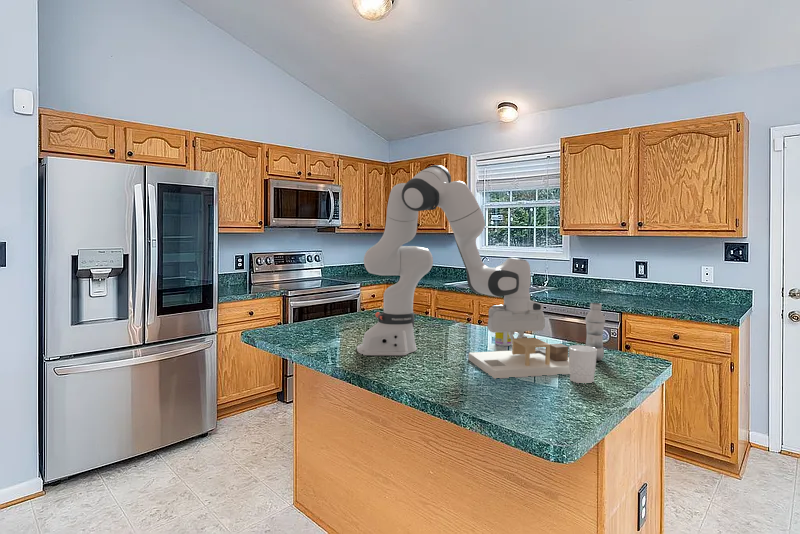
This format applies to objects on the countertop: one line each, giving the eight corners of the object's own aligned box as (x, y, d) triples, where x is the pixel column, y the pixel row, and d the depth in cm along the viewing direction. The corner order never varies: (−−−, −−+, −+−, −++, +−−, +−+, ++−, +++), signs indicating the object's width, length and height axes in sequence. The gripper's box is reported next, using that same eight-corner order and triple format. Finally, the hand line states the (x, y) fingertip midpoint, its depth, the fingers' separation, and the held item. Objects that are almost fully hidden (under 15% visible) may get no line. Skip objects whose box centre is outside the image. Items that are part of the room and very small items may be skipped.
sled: (539, 361, 154) (540, 344, 154) (518, 350, 168) (519, 335, 168) (567, 360, 156) (568, 343, 156) (544, 349, 171) (545, 334, 170)
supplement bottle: (511, 342, 192) (511, 311, 191) (513, 346, 186) (514, 314, 185) (494, 342, 193) (494, 310, 192) (495, 346, 186) (496, 313, 185)
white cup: (563, 377, 147) (564, 345, 146) (588, 376, 148) (589, 345, 147) (574, 385, 139) (576, 351, 138) (600, 384, 140) (602, 351, 139)
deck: (494, 378, 145) (495, 349, 144) (468, 359, 166) (469, 334, 165) (585, 372, 151) (586, 345, 151) (549, 355, 173) (549, 330, 172)
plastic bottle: (603, 358, 169) (605, 302, 167) (604, 363, 162) (606, 305, 161) (583, 357, 171) (585, 301, 170) (584, 361, 165) (586, 304, 163)
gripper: (492, 306, 160) (491, 347, 161) (547, 305, 164) (546, 344, 165) (485, 304, 166) (484, 343, 167) (538, 302, 170) (537, 340, 171)
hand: (515, 343), depth 166 cm, fingers closed
